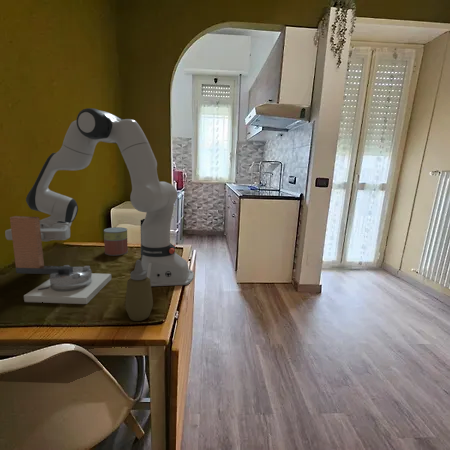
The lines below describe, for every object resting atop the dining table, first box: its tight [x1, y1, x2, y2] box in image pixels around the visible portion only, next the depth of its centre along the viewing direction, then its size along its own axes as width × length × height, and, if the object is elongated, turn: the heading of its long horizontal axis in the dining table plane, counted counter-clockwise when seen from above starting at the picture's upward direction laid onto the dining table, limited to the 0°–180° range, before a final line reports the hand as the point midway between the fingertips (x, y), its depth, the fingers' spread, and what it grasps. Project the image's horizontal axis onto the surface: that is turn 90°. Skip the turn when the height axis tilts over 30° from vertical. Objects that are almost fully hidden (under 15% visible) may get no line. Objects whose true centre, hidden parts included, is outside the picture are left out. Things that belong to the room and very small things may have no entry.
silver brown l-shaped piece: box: [9, 215, 93, 291], centre depth 93 cm, size 24×13×24 cm, turn 92°
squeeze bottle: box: [125, 259, 154, 322], centre depth 80 cm, size 8×8×18 cm
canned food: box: [103, 226, 129, 256], centre depth 138 cm, size 11×11×12 cm
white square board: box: [23, 272, 112, 305], centre depth 96 cm, size 20×20×2 cm
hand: (27, 239), depth 94 cm, fingers closed
